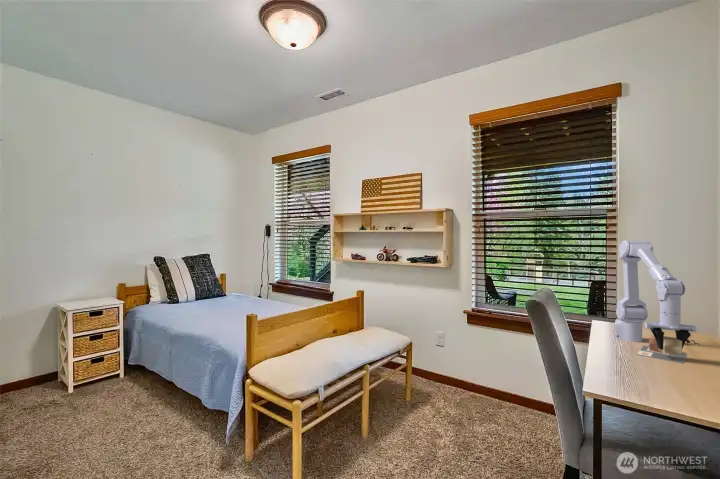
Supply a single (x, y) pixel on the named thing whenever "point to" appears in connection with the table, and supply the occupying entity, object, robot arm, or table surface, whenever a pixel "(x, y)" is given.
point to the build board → (662, 355)
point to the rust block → (653, 345)
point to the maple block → (671, 345)
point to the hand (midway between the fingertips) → (669, 349)
